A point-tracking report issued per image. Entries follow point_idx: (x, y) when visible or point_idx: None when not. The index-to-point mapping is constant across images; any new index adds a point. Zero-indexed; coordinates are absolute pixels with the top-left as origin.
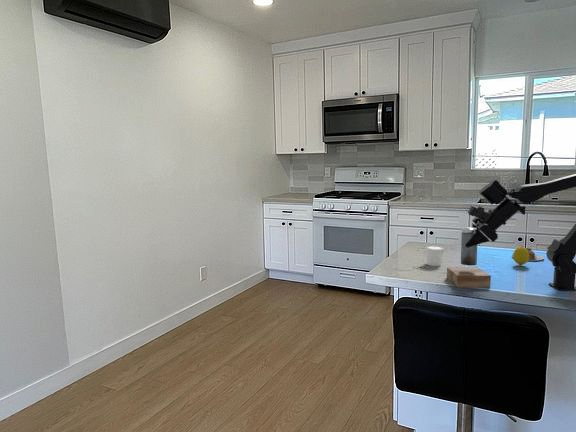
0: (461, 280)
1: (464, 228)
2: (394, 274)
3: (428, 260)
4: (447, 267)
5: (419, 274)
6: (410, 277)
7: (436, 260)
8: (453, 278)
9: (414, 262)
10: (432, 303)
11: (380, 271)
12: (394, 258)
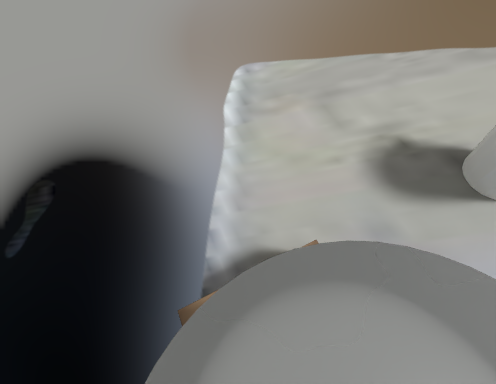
0: None
1: (351, 323)
2: (269, 105)
3: (476, 147)
4: (315, 241)
5: (306, 161)
6: (257, 146)
7: (488, 174)
8: None
9: (459, 114)
10: (9, 254)
11: (282, 72)
12: (460, 58)
